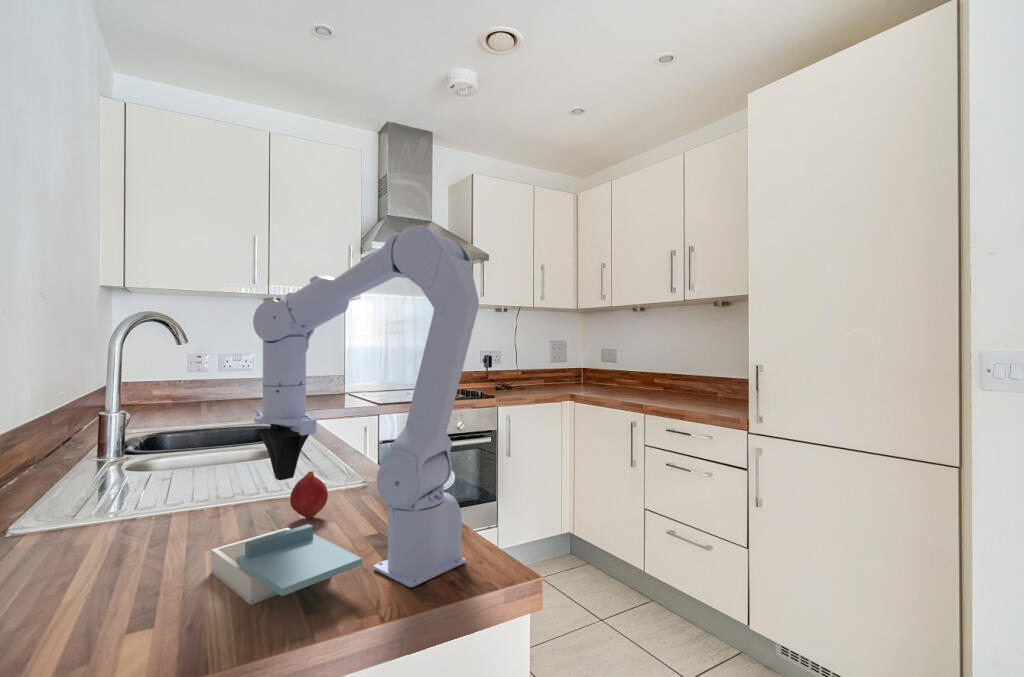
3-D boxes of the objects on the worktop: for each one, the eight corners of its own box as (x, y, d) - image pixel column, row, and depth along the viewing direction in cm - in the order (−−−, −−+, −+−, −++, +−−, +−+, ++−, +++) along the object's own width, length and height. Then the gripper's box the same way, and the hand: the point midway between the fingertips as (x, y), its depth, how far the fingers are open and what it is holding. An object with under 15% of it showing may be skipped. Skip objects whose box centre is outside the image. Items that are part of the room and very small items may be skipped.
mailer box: (287, 548, 73) (287, 527, 73) (331, 573, 65) (331, 550, 65) (211, 572, 65) (211, 549, 65) (250, 604, 57) (250, 578, 57)
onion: (287, 526, 81) (287, 476, 81) (293, 514, 87) (293, 467, 87) (326, 523, 83) (326, 474, 83) (329, 511, 88) (329, 465, 88)
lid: (312, 539, 68) (312, 521, 68) (362, 565, 60) (362, 544, 60) (236, 563, 60) (236, 543, 60) (281, 596, 53) (281, 573, 53)
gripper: (235, 383, 75) (234, 474, 75) (280, 390, 66) (280, 494, 66) (282, 380, 80) (282, 465, 80) (330, 386, 71) (330, 483, 71)
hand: (284, 478), depth 73 cm, fingers closed
